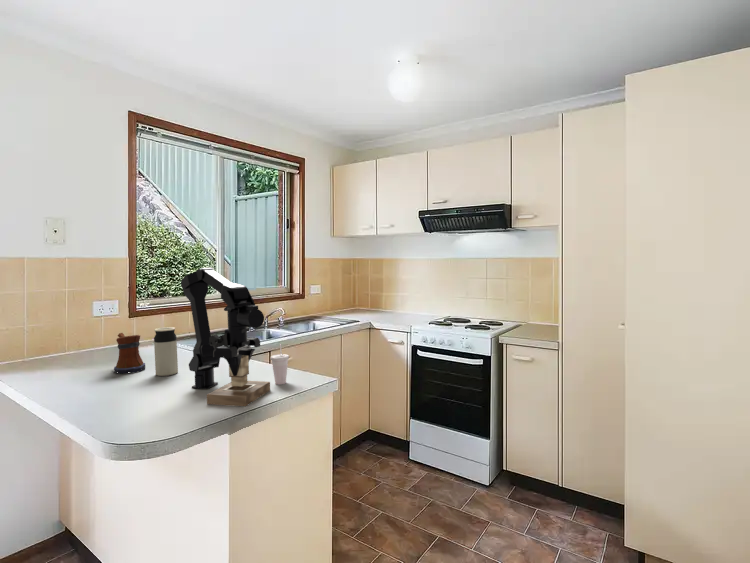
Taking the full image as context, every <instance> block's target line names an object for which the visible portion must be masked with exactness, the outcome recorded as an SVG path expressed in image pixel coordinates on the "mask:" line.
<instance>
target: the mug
mask: <svg viewBox="0 0 750 563" xmlns="http://www.w3.org/2000/svg"><path fill="white" fill-rule="evenodd" d="M140 339H141V335H139V334H134V335H126V336H125V334H124V333H123V332H120V333H118V335H117V338H116V339H115V340H116V343H117V348H118V358H117V361H116V365H115V366H114V367H113V371H114V373H116V372H118V373H128V372H135V373H138V372H137V371H139V372H142V371H144V370H145V369H146V363H145V362H144V361H143V359H142V357H141V354H140V351H139V348H140V345H141V343H140ZM141 370H142V371H141ZM118 373H117V374H118ZM128 374H129V373H128Z"/></svg>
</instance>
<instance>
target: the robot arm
mask: <svg viewBox="0 0 750 563" xmlns="http://www.w3.org/2000/svg"><path fill="white" fill-rule="evenodd" d="M180 286H181V289H182V292H183V295H184V296H185V298H186V299H188V301H189V303H190V308H191V315H192V316H191V317H192V322H193V328H194V333H195V339H196V340H195V341H196V343H195V344H194V347H193V350H192V355H193V356H192V357H191V360H190V361H189V363H188V368H189V371H191V372H194V385H193V386H191V389H200V390H201V389H202V390H203V389H204V390H205V389H206V390H208V389H210V388H212V387H215V386H216V385H218V384H219V382H218V381H215V371H214V369H215V368H219V367H220V366H219V365H220V362H221V359H224V360H226V362H227V363H228V367H229V366H230V369H231V371H232V374H233V376H237V373H238V370H239V365H240V361H241V357H242V355H246V356H248V360H249V361H250V360H251V358H252V356H253V354H254V352H255V351H256V348H260V347H261V339H260V338H258V337H248V332H249V331H250V328H252V329H258V328H260V327H262V325H263V324H264V321H265V315H264V313H263V312H262V310H261V309H259V305H256V303H255V299H253V297H252V295H251V293H250V291H249V288H248V287H247V286H246V285H243V284H240V283H235V282H232V281H230V280H229V279H227V278H225V277H224V276H223V275H221V274H220V273H218V272H217V271H216V270H215V268H213V267H201V268H198V269H197V270H195V271H193V272H191V273H188V274H187V275H185V276H183V277H182V279H181V281H180ZM209 286H210V287H211V288H213V289H214V290H215V291H217V292H218V293H219V294H220V299H221V300H222V301H223V302H224V304H226V305H227V306H225V307H224V308H223V311H225V312H226V313H227V328H226V329H225V330H224V334H221V335H218V334H217V333H216V334H211V329H210V321H209V316H208V309H207V303H206V296H207V295H208V292H209ZM252 347H254V348H252Z"/></svg>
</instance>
